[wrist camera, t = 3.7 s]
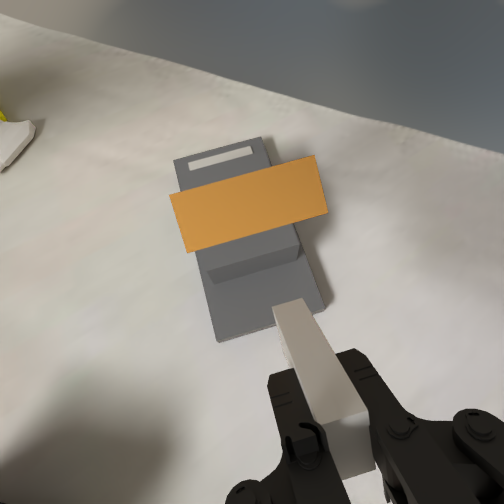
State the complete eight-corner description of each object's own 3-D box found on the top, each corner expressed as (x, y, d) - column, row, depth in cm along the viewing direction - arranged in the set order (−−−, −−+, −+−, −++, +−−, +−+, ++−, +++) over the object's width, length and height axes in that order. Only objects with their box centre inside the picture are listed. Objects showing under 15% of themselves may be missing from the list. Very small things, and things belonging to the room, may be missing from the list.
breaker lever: (281, 211, 28) (328, 212, 16) (202, 233, 28) (187, 253, 15) (273, 179, 28) (314, 154, 15) (193, 201, 28) (169, 194, 15)
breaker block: (322, 311, 31) (333, 297, 26) (219, 342, 30) (208, 334, 25) (261, 145, 38) (259, 108, 33) (176, 168, 37) (161, 134, 32)
